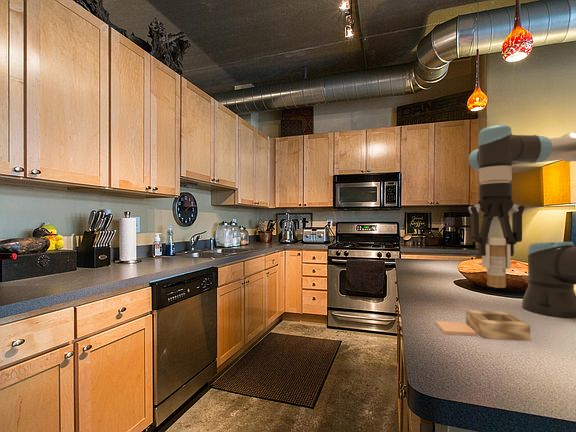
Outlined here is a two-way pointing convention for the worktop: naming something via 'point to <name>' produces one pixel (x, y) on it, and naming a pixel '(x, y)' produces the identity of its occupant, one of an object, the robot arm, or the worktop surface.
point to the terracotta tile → (455, 328)
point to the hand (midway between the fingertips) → (496, 267)
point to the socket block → (498, 325)
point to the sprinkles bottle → (497, 263)
